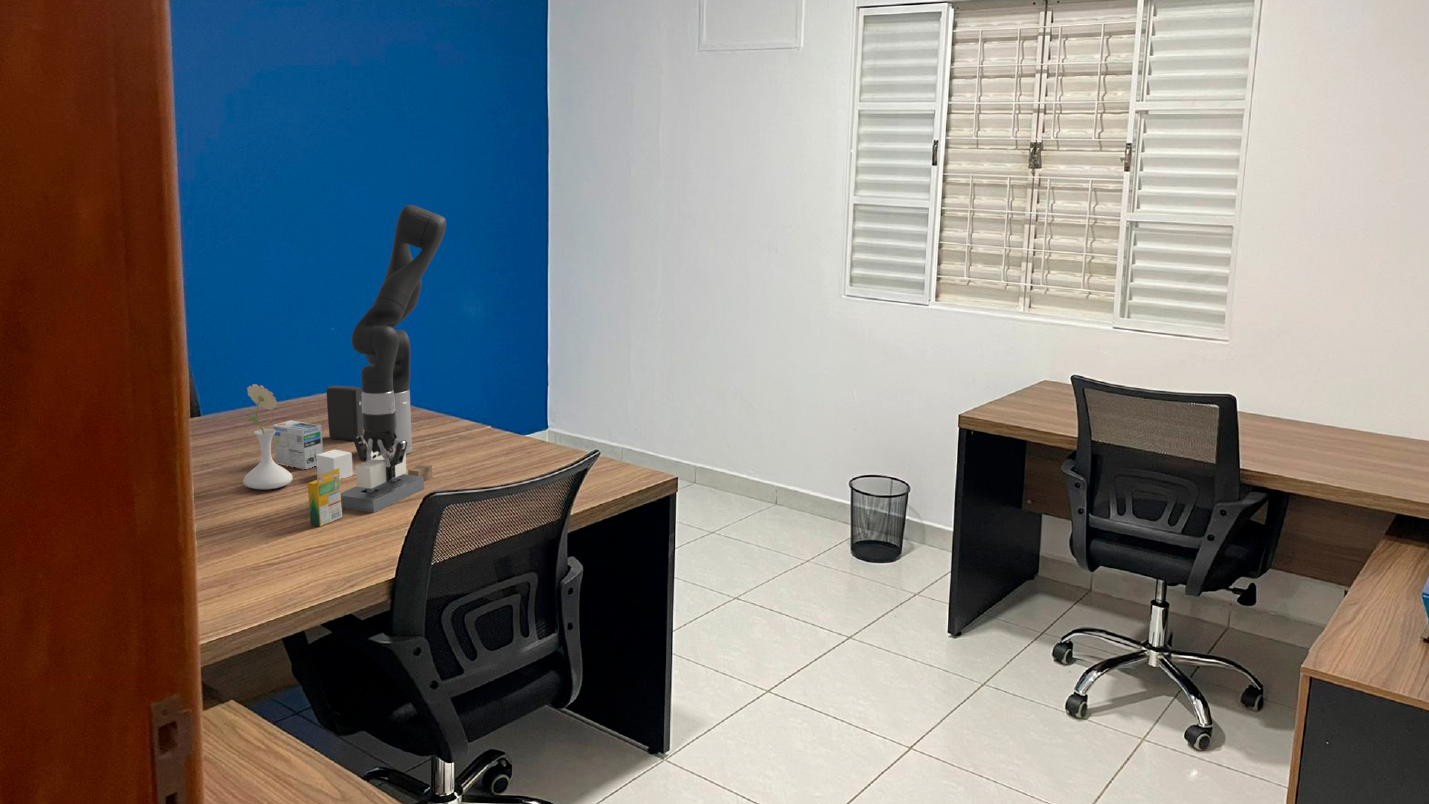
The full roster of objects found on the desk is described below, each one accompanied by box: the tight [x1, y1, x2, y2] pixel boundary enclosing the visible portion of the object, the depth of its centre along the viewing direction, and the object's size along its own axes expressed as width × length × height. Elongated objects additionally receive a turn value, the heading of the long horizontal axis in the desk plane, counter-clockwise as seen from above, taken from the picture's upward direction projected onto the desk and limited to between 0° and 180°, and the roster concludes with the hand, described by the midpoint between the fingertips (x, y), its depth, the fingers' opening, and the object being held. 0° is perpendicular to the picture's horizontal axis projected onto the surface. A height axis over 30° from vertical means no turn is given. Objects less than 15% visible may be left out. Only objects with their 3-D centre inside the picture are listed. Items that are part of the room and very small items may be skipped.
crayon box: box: [307, 468, 343, 528], centre depth 254 cm, size 7×3×12 cm, turn 157°
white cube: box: [316, 449, 354, 480], centre depth 288 cm, size 6×6×6 cm
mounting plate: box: [341, 473, 425, 514], centre depth 272 cm, size 20×10×3 cm, turn 160°
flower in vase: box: [242, 383, 294, 490], centre depth 277 cm, size 13×11×25 cm
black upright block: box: [326, 385, 364, 441], centre depth 322 cm, size 9×4×15 cm, turn 80°
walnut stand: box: [407, 463, 433, 482], centre depth 287 cm, size 6×3×3 cm, turn 160°
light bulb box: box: [272, 419, 324, 470], centre depth 297 cm, size 11×7×11 cm, turn 65°
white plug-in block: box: [354, 449, 407, 494], centre depth 271 cm, size 14×4×9 cm, turn 160°
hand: (382, 479), depth 271 cm, fingers closed on white plug-in block, 4 cm apart
